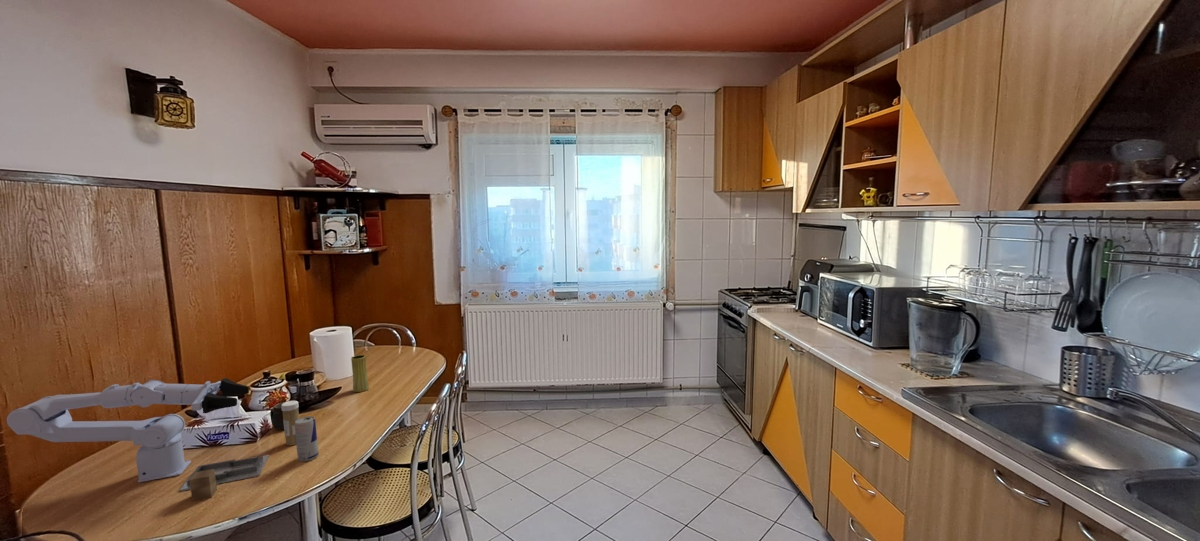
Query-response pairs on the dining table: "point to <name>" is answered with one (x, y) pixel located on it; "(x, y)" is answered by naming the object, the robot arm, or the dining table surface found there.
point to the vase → (359, 373)
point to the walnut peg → (203, 485)
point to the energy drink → (306, 438)
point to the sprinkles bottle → (290, 420)
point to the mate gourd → (278, 416)
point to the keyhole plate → (232, 470)
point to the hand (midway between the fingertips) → (242, 395)
